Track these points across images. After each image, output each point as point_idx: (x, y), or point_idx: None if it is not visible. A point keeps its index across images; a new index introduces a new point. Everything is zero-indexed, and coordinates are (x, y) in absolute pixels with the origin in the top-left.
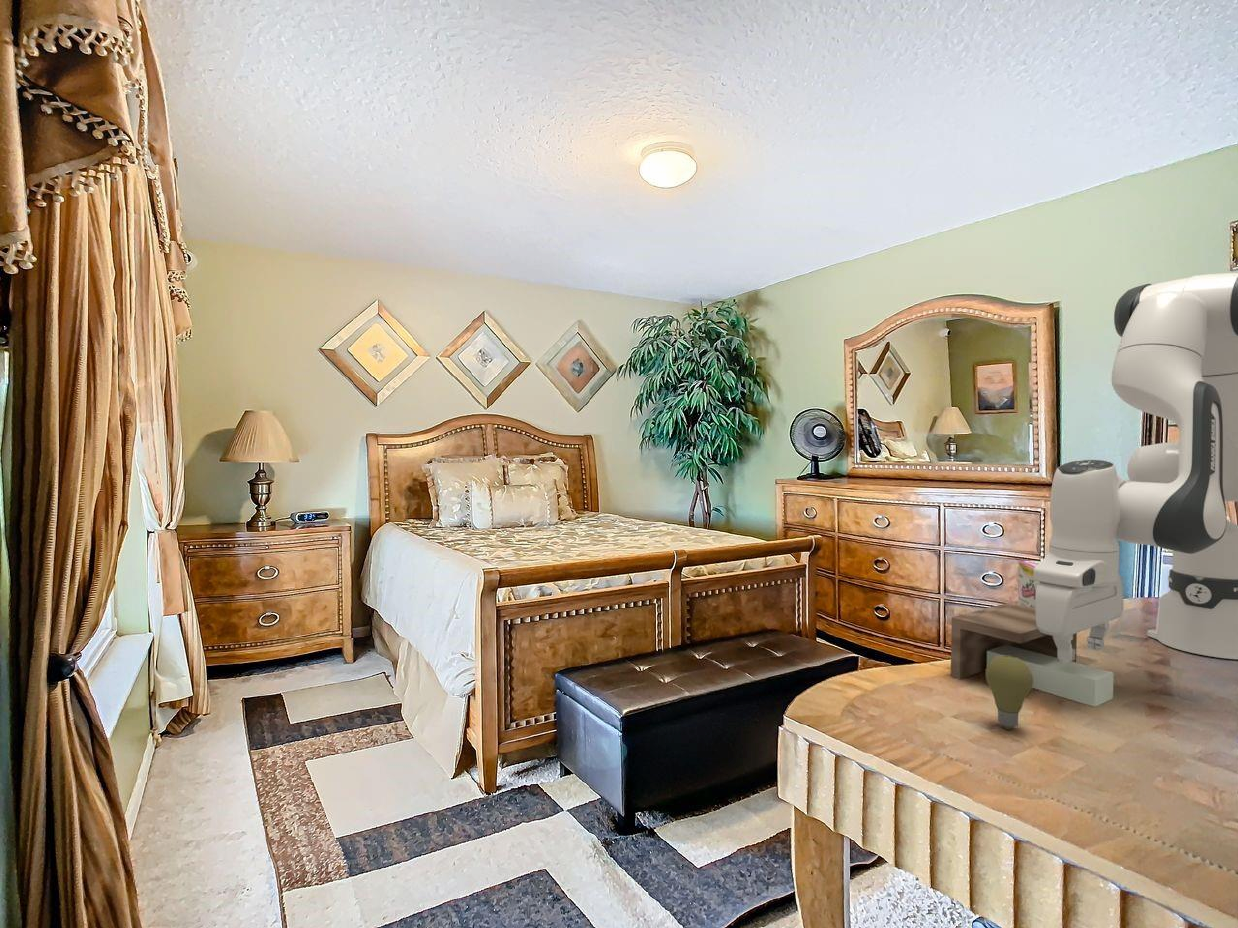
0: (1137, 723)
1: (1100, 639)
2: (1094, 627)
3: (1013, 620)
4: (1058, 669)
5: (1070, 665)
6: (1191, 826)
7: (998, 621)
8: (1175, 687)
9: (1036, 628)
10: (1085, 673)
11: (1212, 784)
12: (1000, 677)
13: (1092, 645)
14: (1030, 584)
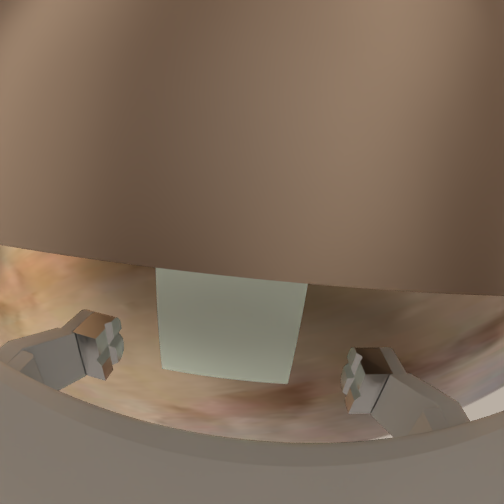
0: (167, 390)
1: (359, 411)
2: (421, 409)
3: (93, 25)
4: (164, 269)
5: (251, 283)
6: None
7: (21, 21)
8: (444, 374)
9: (19, 241)
10: (200, 339)
11: None
12: None
13: (351, 368)
14: None
